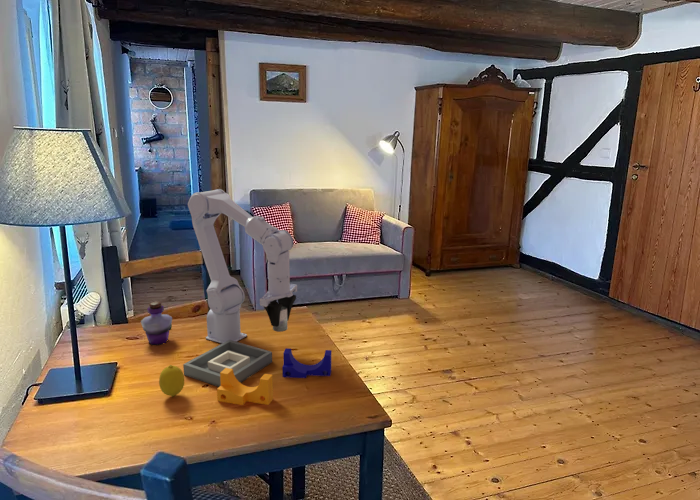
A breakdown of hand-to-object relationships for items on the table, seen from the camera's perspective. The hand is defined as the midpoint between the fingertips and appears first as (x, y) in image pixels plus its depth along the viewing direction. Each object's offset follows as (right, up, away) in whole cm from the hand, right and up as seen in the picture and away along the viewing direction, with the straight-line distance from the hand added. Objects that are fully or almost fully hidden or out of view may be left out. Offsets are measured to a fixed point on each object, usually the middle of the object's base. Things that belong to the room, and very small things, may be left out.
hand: (279, 322), depth 138 cm
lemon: (-22, -14, -21) cm, 34 cm away
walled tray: (-12, -11, -7) cm, 18 cm away
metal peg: (0, -2, 0) cm, 2 cm away
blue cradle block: (+8, -12, -9) cm, 18 cm away
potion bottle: (-37, -7, +8) cm, 38 cm away
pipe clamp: (-5, -15, -22) cm, 27 cm away
